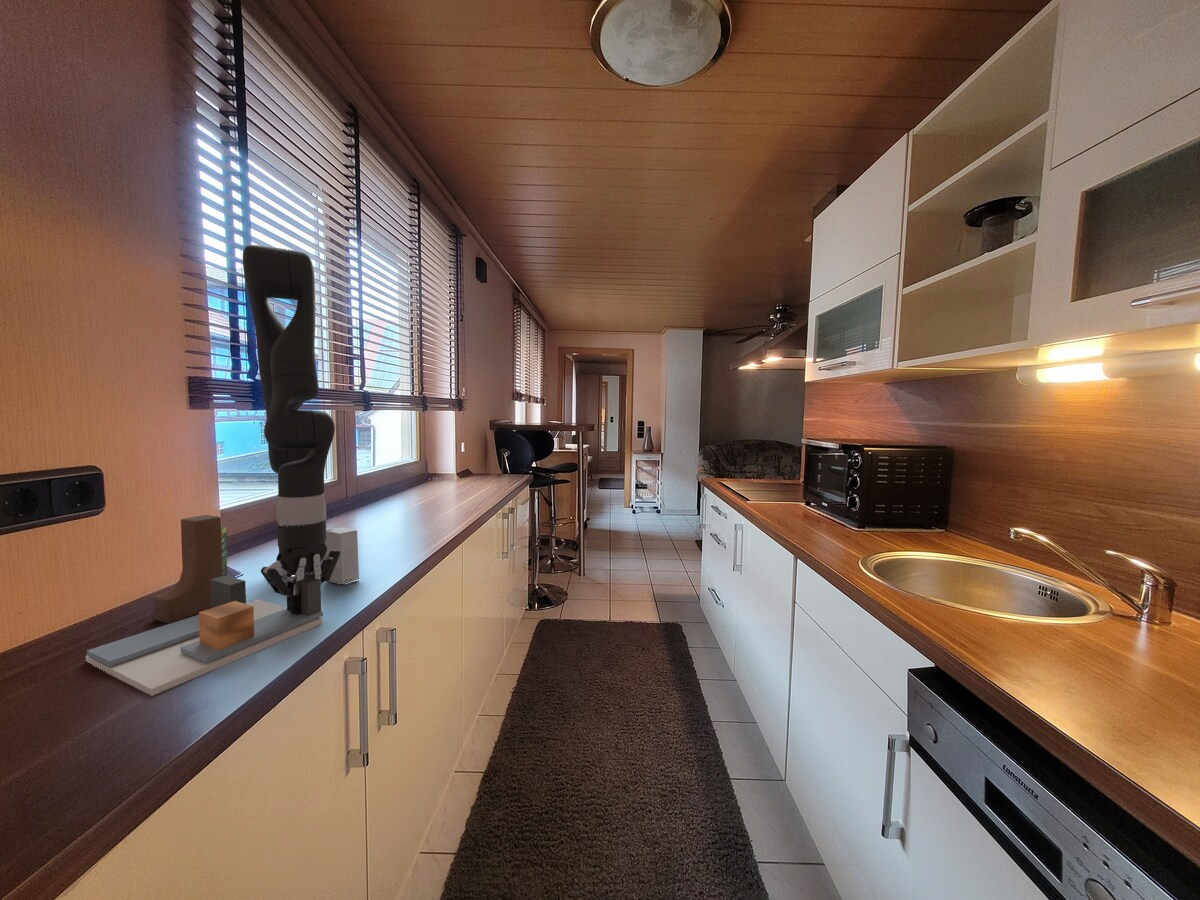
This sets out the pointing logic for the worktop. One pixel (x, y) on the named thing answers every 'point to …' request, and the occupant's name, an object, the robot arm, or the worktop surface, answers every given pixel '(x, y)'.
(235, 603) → the cube
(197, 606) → the wooden block
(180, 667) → the lane board
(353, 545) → the skincare box
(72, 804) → the worktop surface
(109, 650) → the strip empty
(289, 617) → the strip with cube
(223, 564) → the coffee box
